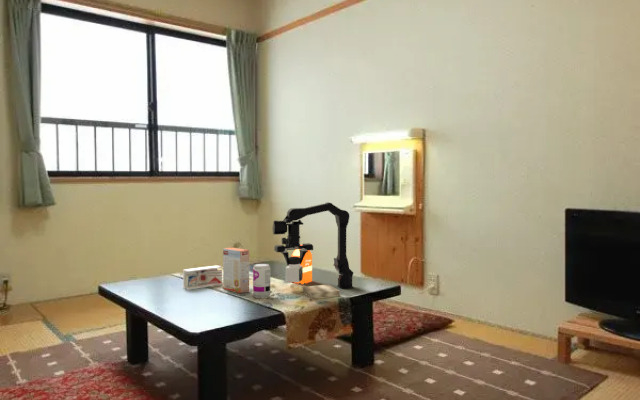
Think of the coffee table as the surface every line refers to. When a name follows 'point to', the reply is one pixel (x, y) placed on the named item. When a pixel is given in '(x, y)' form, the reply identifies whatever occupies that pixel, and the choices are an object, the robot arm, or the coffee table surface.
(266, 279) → the supplement can
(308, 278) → the orange juice
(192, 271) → the cigarette display
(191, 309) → the coffee table surface
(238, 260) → the cracker box
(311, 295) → the pale wooden riser board
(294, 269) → the medicine bottle
